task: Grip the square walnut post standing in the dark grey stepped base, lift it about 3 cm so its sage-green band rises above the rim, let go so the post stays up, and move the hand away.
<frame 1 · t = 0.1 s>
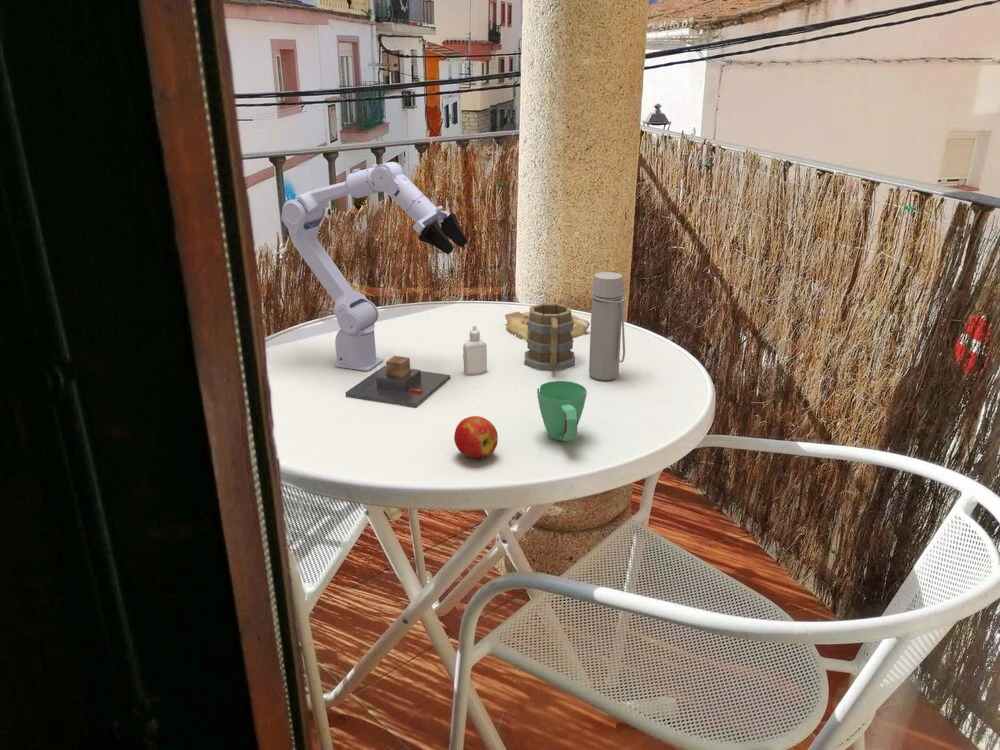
hand: (458, 247, 171), 32 cm above the table, tool tilted 50°, fingers open, 7 cm apart
apple: (475, 456, 147), on the table
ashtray: (546, 330, 218), on the table
walnut post: (398, 371, 177), point 4 cm above the table, slide at 0.0 cm
mug: (563, 441, 153), on the table
water bottle: (606, 378, 184), on the table
tankard: (549, 367, 191), on the table
eye dropper bottle: (475, 373, 187), on the table
dark grey stepped base: (399, 387, 179), on the table
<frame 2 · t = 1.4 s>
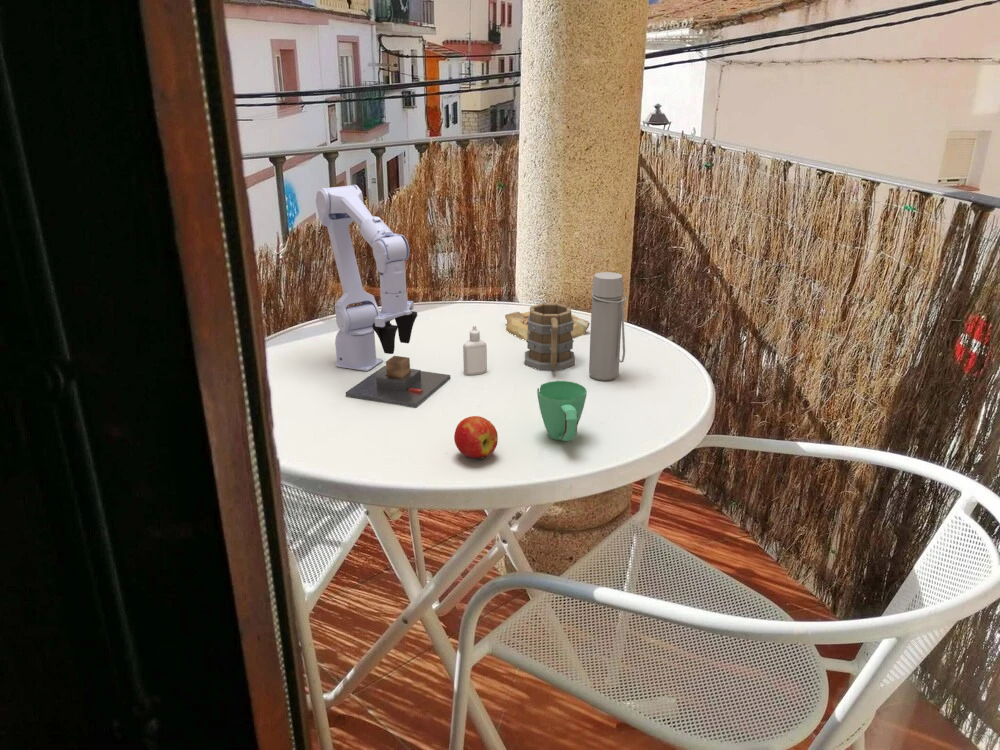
hand: (397, 347, 175), 10 cm above the table, tool pointing down, fingers open, 7 cm apart
nothing on the table moved.
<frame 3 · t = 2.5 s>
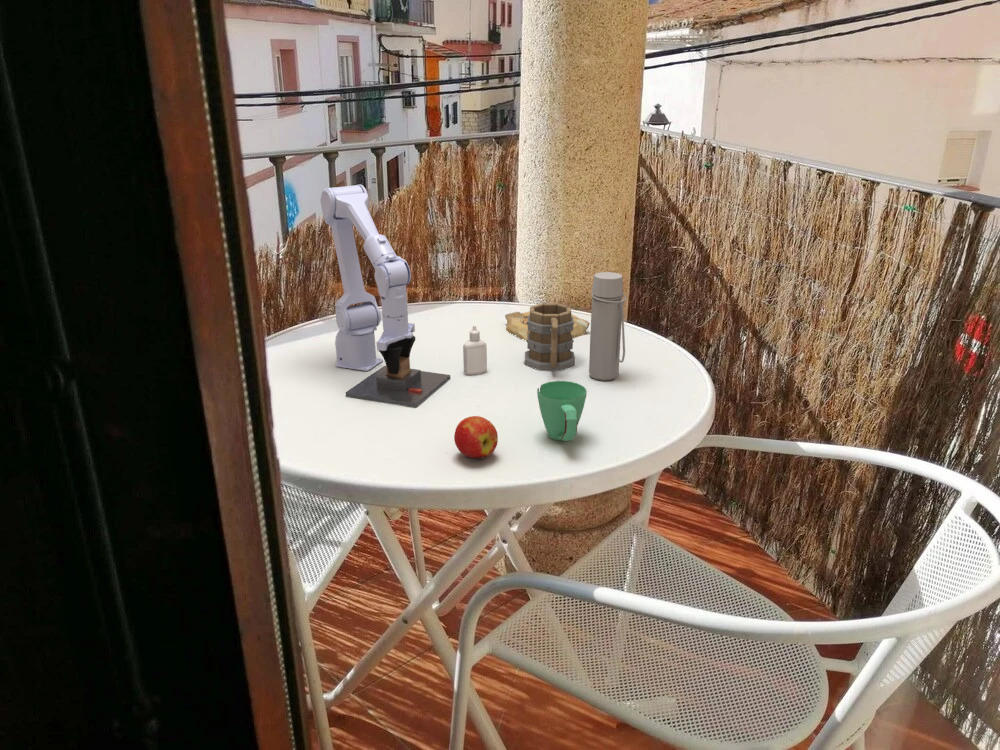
hand: (398, 370, 177), 4 cm above the table, tool pointing down, fingers closed on walnut post, 4 cm apart
walnut post: (398, 371, 177), point 4 cm above the table, slide at 0.0 cm, touching gripper
everything else where it was.
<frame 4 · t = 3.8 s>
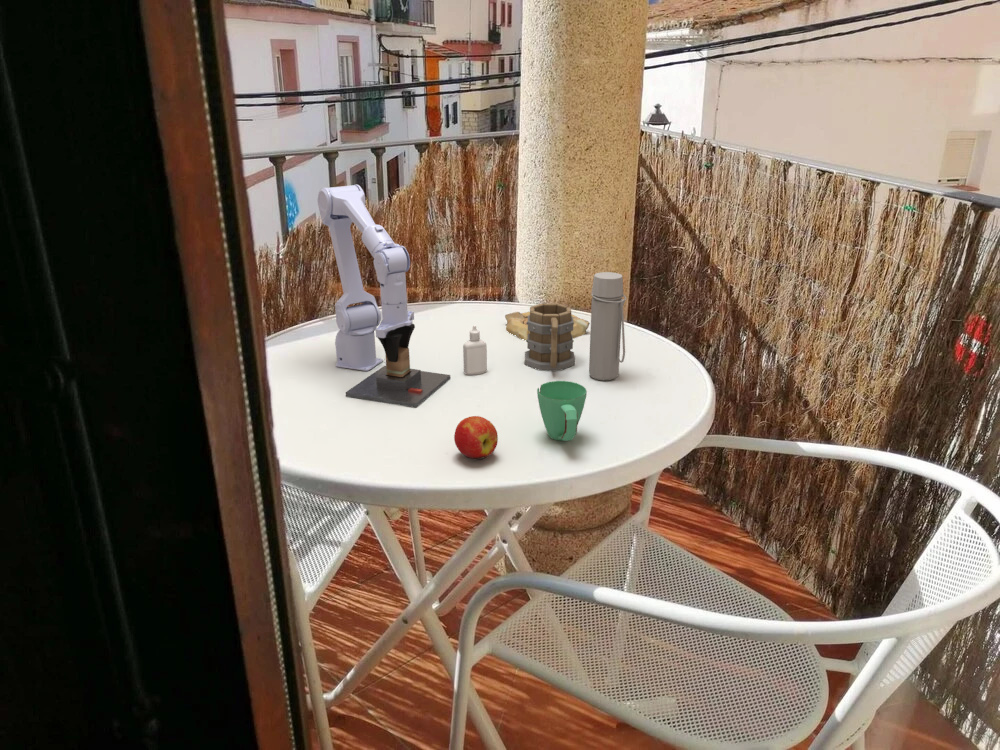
hand: (397, 357, 176), 7 cm above the table, tool pointing down, fingers closed on walnut post, 4 cm apart
walnut post: (397, 361, 176), point 6 cm above the table, slide at 2.3 cm, touching gripper
everything else where it was.
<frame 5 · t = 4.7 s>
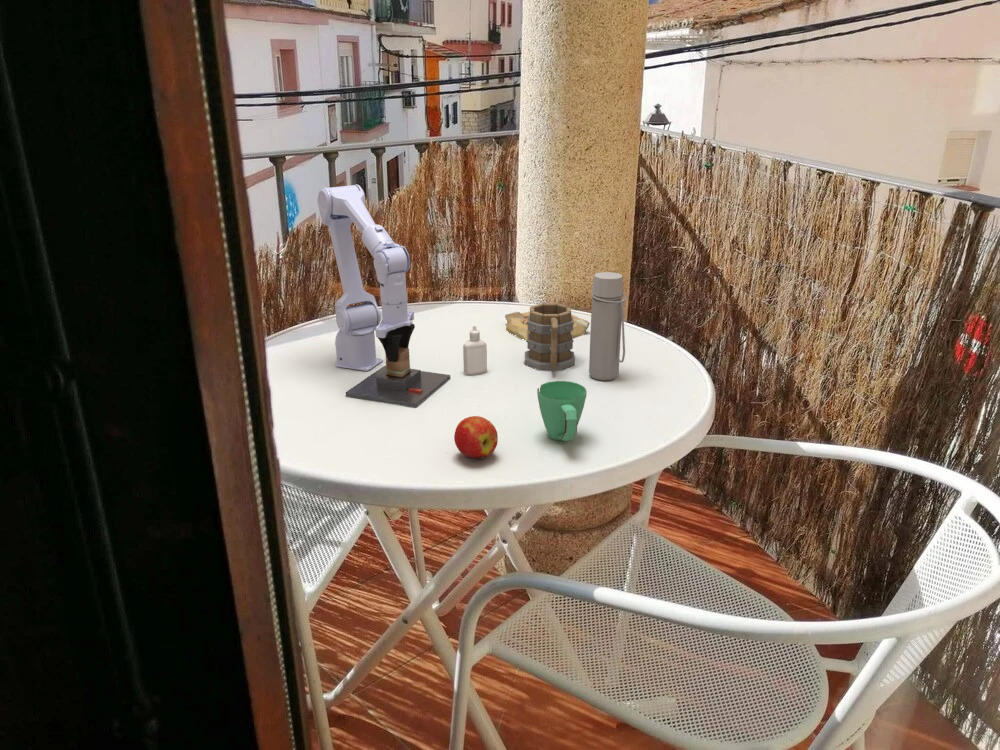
hand: (397, 358, 176), 7 cm above the table, tool pointing down, fingers closed on walnut post, 4 cm apart
walnut post: (397, 361, 176), point 6 cm above the table, slide at 2.3 cm, touching gripper
everything else where it was.
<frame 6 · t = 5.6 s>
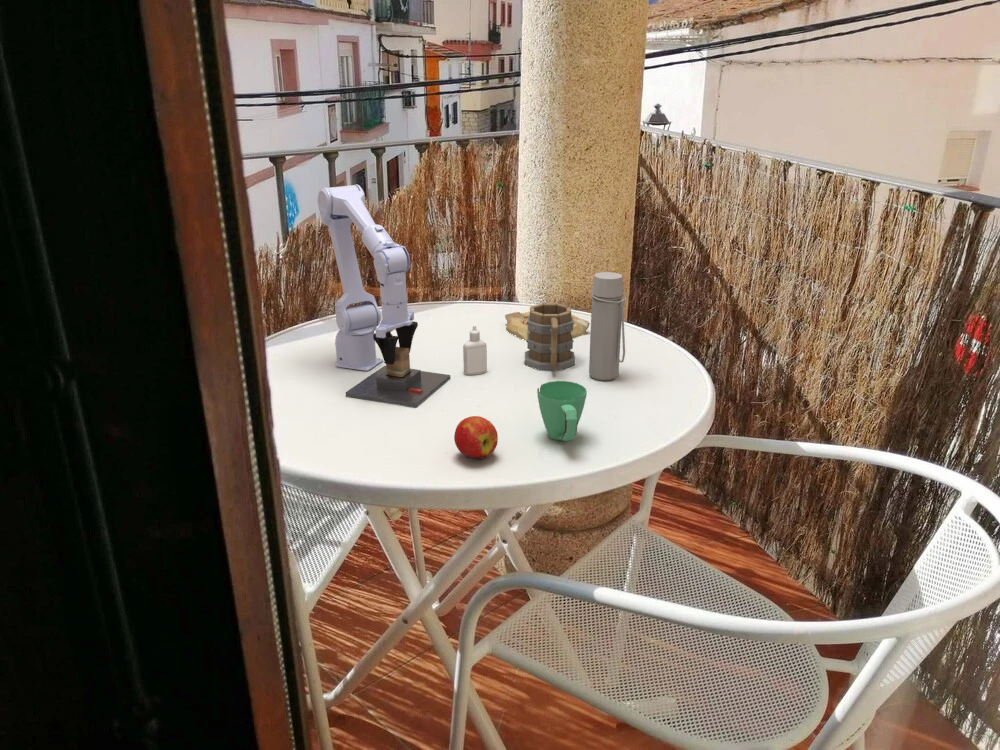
hand: (397, 357, 176), 7 cm above the table, tool pointing down, fingers open, 7 cm apart
walnut post: (397, 361, 176), point 6 cm above the table, slide at 2.3 cm
everything else where it was.
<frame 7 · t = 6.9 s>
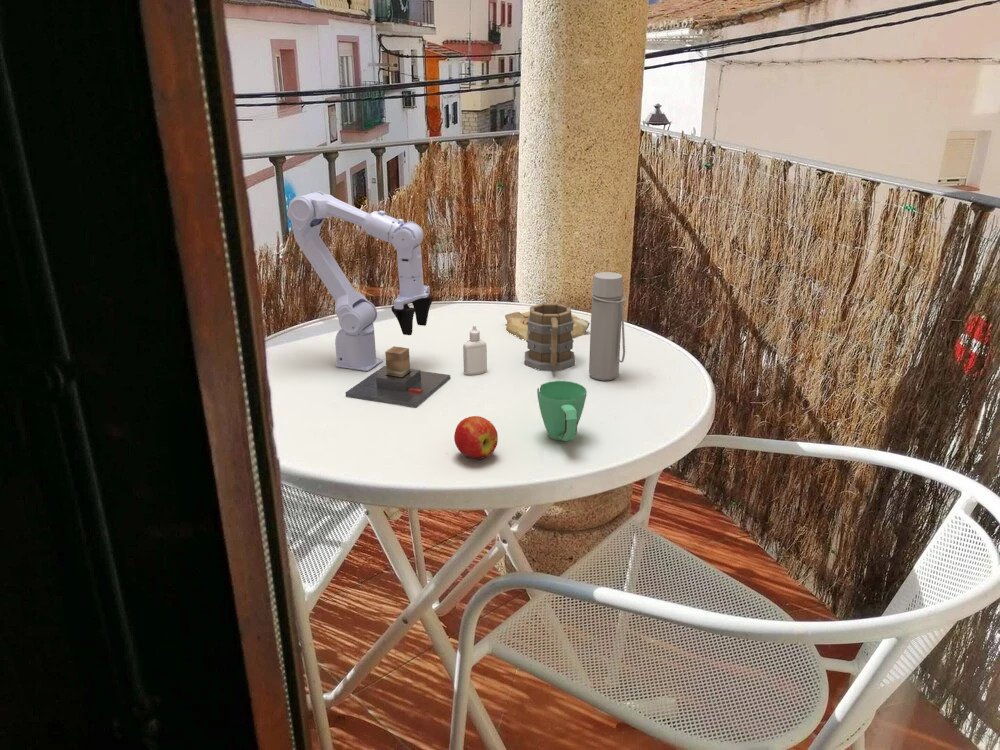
hand: (414, 329, 185), 10 cm above the table, tool pointing down, fingers open, 7 cm apart
nothing on the table moved.
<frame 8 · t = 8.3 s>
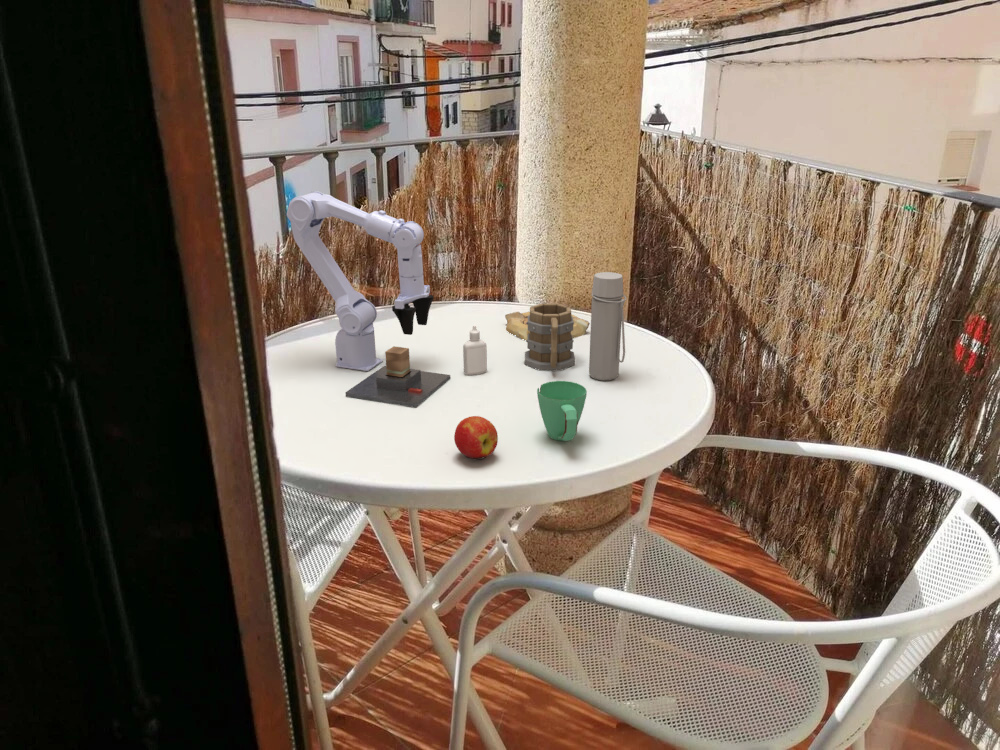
hand: (415, 329, 186), 10 cm above the table, tool pointing down, fingers open, 7 cm apart
nothing on the table moved.
at the end: walnut post slide at 2.3 cm; the gripper is holding nothing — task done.
